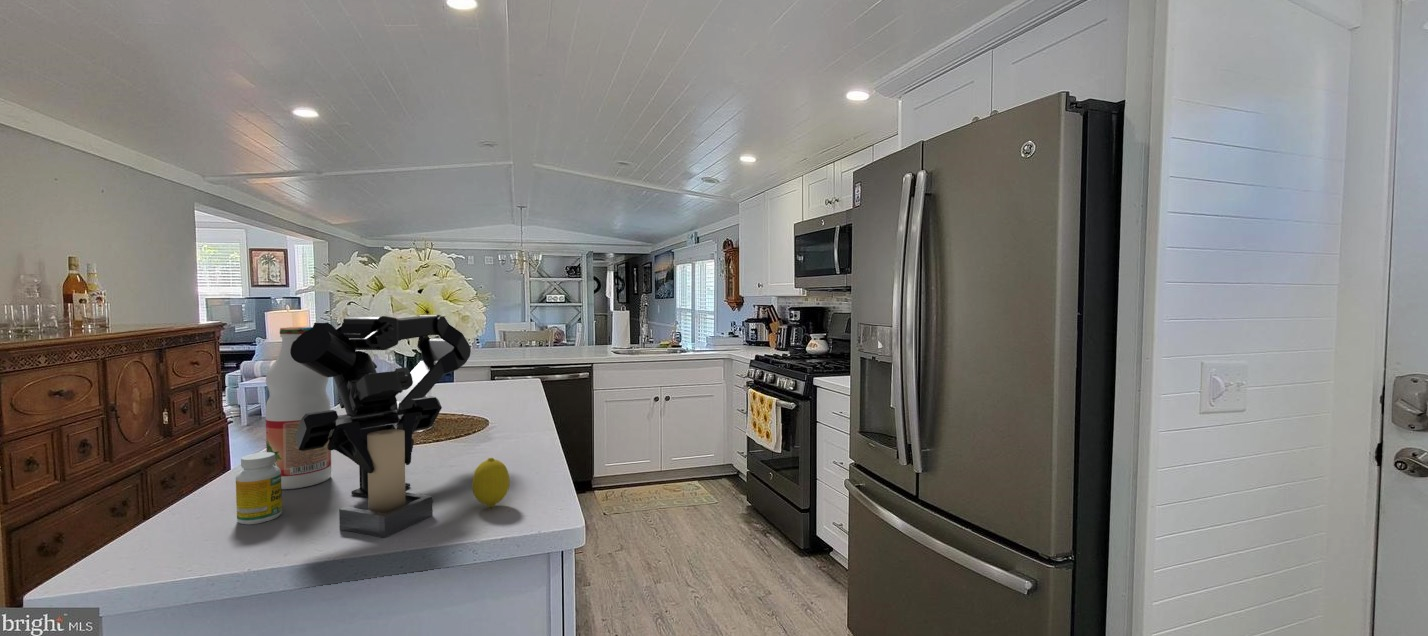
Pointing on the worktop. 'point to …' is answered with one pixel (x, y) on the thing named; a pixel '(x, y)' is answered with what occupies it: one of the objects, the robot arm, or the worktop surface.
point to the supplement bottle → (258, 489)
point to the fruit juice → (295, 416)
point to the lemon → (490, 482)
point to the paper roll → (386, 470)
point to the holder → (386, 517)
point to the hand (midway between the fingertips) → (390, 467)
